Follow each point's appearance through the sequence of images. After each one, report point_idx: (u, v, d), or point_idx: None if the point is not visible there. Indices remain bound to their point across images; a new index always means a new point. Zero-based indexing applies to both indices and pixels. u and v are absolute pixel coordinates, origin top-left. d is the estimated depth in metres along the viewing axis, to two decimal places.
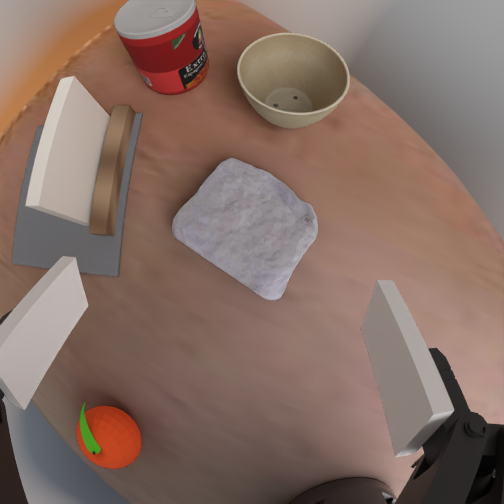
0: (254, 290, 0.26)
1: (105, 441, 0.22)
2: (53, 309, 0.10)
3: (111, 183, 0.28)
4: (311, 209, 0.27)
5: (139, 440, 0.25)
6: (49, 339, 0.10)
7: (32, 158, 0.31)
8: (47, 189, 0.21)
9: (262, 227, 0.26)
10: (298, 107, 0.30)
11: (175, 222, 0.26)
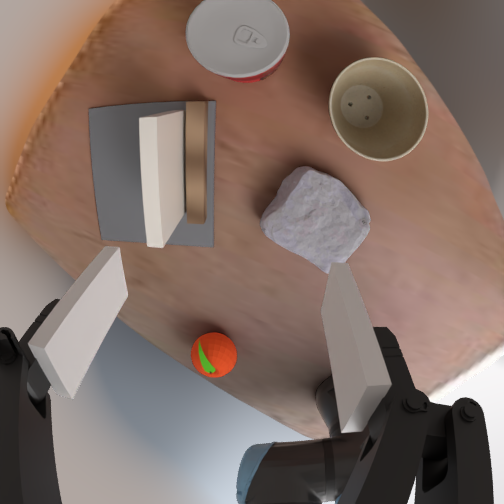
0: (322, 269, 0.37)
1: (219, 364, 0.42)
2: (100, 297, 0.12)
3: (202, 182, 0.34)
4: (368, 214, 0.34)
5: (236, 353, 0.45)
6: (96, 327, 0.11)
7: (95, 144, 0.33)
8: (164, 229, 0.28)
9: (331, 229, 0.35)
10: (370, 108, 0.30)
11: (265, 225, 0.35)
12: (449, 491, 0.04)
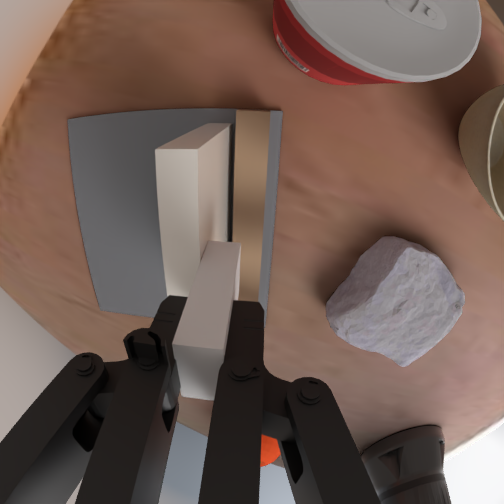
0: (399, 364, 0.25)
1: (266, 457, 0.29)
2: None
3: (260, 248, 0.21)
4: (463, 297, 0.22)
5: None
6: None
7: (80, 175, 0.21)
8: None
9: (421, 321, 0.23)
10: (492, 141, 0.18)
11: (338, 324, 0.23)
12: (310, 485, 0.05)
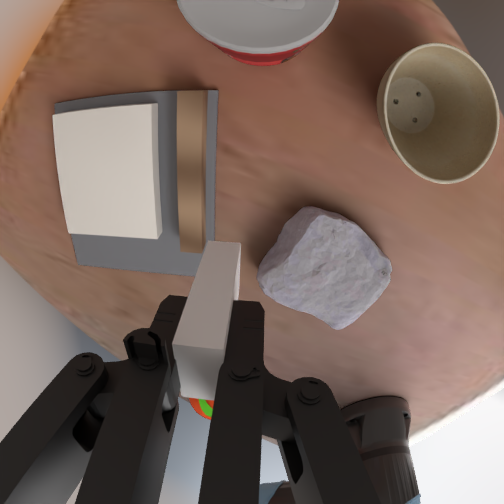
0: (331, 326, 0.31)
1: None
2: None
3: (200, 201, 0.25)
4: (389, 264, 0.27)
5: None
6: None
7: None
8: (71, 220, 0.27)
9: (345, 284, 0.28)
10: (419, 108, 0.22)
11: (263, 282, 0.28)
12: (310, 485, 0.05)
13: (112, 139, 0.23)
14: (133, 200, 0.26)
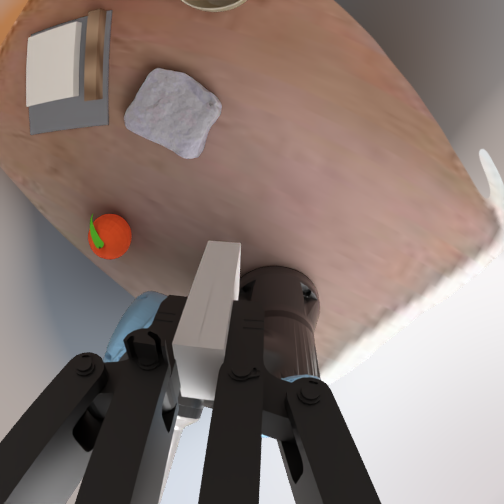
0: (178, 154, 0.38)
1: (106, 237, 0.41)
2: None
3: (95, 66, 0.33)
4: (213, 96, 0.35)
5: (129, 234, 0.44)
6: None
7: None
8: (29, 97, 0.34)
9: (179, 113, 0.35)
10: None
11: (124, 119, 0.36)
12: (310, 484, 0.05)
13: (56, 43, 0.30)
14: (62, 75, 0.33)
